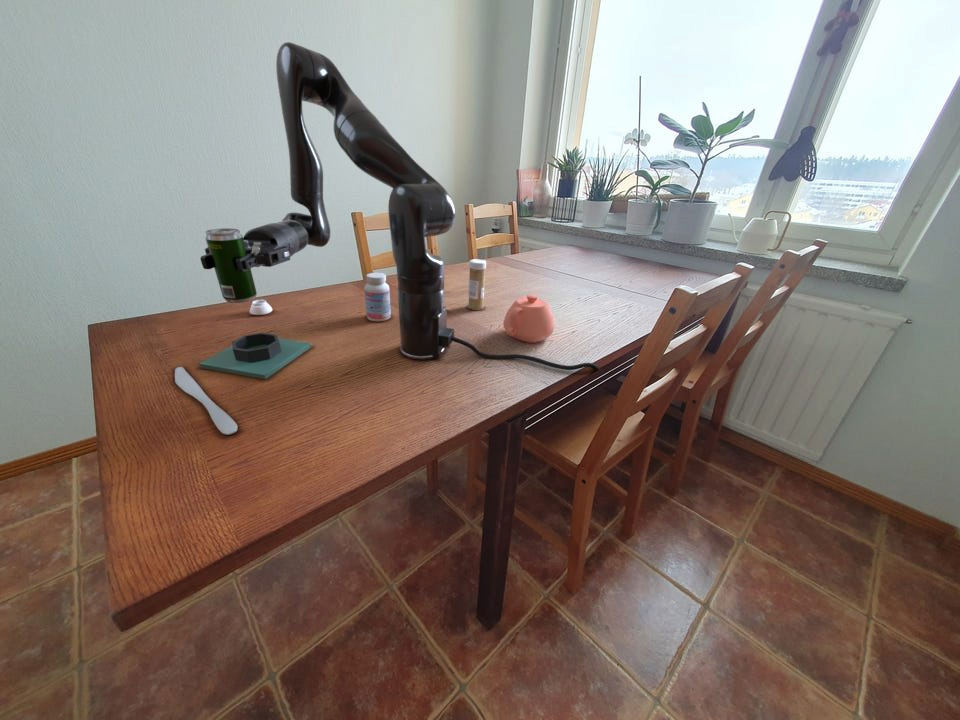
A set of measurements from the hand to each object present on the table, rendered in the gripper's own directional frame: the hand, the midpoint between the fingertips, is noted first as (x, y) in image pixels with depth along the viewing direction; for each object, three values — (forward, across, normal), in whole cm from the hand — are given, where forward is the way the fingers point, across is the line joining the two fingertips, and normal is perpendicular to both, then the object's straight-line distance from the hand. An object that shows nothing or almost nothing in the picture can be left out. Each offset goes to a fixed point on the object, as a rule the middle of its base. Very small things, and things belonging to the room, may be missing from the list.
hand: (221, 264), depth 63 cm
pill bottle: (-27, +18, +20) cm, 38 cm away
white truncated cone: (-26, -12, +20) cm, 35 cm away
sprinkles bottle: (-39, +43, +20) cm, 61 cm away
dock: (-3, 0, +20) cm, 20 cm away
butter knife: (+12, -2, +20) cm, 23 cm away
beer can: (-3, 0, +7) cm, 8 cm away
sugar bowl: (-21, +55, +20) cm, 63 cm away
